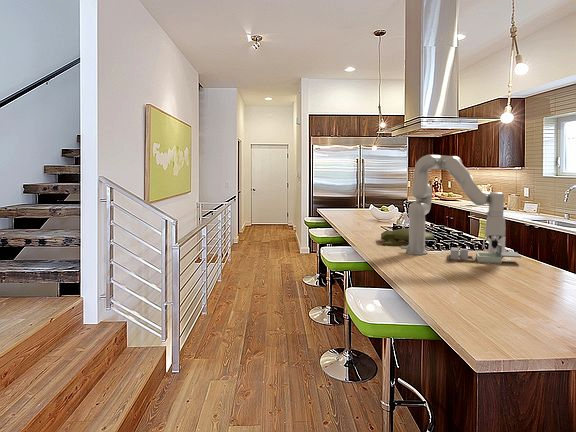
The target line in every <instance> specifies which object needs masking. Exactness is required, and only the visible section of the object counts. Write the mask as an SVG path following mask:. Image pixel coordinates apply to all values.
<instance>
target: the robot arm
mask: <svg viewBox="0 0 576 432" xmlns="http://www.w3.org/2000/svg"><path fill="white" fill-rule="evenodd" d="M430 170H443V171H447V172H448V173H449V175H450V176H451V177H452V178H453V179H454V180H455V181H456V183H458V185H459V187H460V188H461V190H462V191H463V193H464V194H465V195H466V197H467V198H469V200H470V201H471V202H472V204H474V205H476V206H479V207H481V206H485V205H488V211H487V212H486V211H485V215H486V221H485V228H484V237H486V238H488V239H489V238H490V239H491V240H492V244H491V246H493V248H496V246H498V240H499V239H500V238H504V237H506V233H507V232H506V230H507V227H506V217H505V216H504V207H505V194H504V192H498V191H492V192H490V191H485V190H484V191H482V190H481V189H480V187H478V185H477V184H476V182H475V180H474V178H473V175H472V173H471V172H470V171H469V170H468V169H467V167H466V166H464V164H463V160H462V159H461V158H460V157H459V156H457V155H443V154H442V155H441V154H426V155H423V156H422V157H420V158H419V159H418V160H417V161H416V163H415V166H414V170H413V171H414V172H413V173H414V174H413V181H412V189H411V193H412V196H413V198H415V201H413V202H412V203H410V205H409V207H408V227H409V240H408V242H409V245H408V246H400V249H401V250H405V253H406V254H409V255H415V256H416V255H417V256H421V255H427V254H428V251H427V250H426V246H425V244H426V240H425V231H426V215H427V214H429V213H430V210H431V207H432V197H433V188H432V186H431V185H430V184H429V178H430V177H429V176H430V175H429V171H430ZM494 236H496V239H495V241H494ZM506 238H507V237H506Z"/></svg>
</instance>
